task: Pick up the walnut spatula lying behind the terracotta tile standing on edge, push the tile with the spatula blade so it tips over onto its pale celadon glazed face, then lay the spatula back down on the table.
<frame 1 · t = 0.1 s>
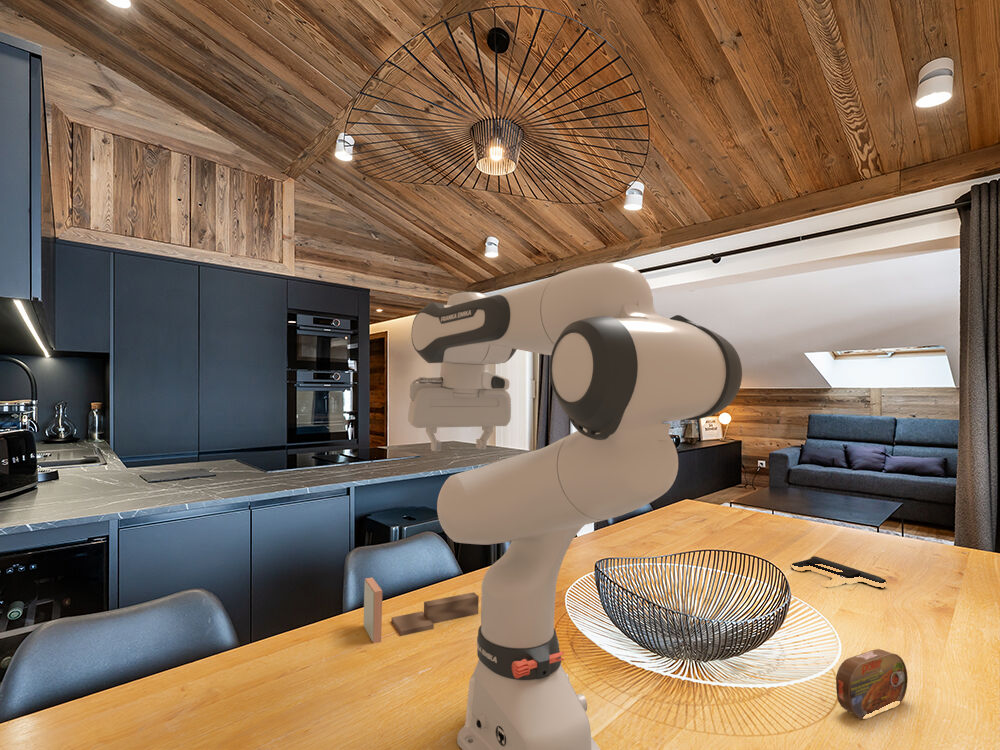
hand: (458, 449, 98), 39 cm above the table, tool pointing down, fingers open, 8 cm apart
tile: (372, 633, 104), on the table
tin: (871, 709, 82), on the table
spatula: (438, 620, 111), on the table
door handle: (832, 581, 140), on the table
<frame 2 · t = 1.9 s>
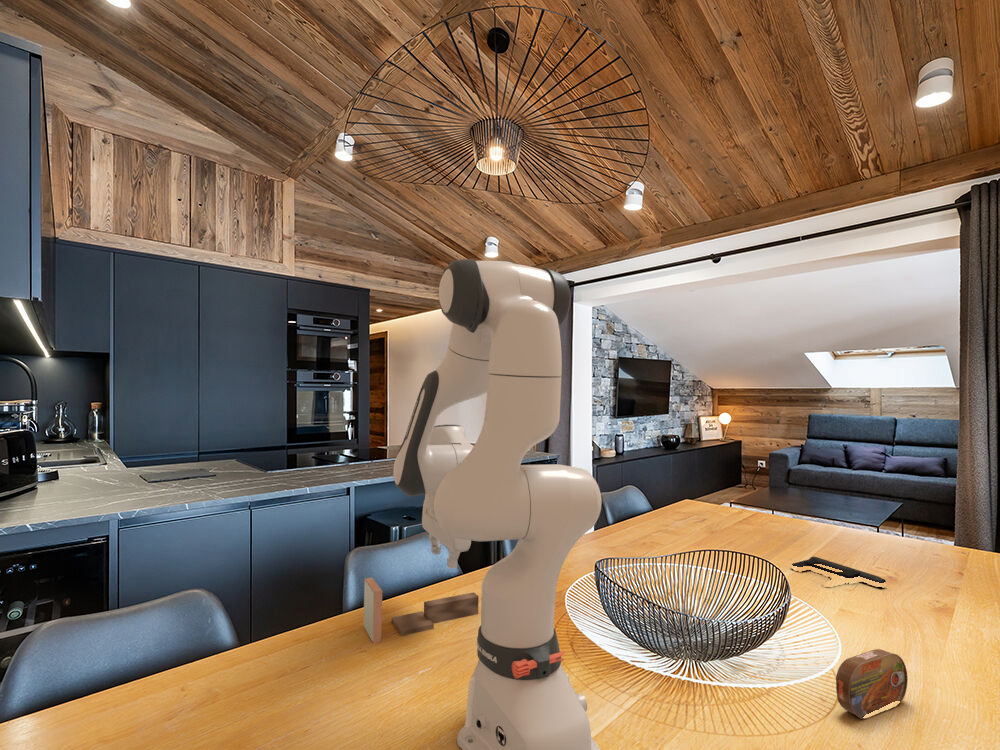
hand: (443, 560, 112), 13 cm above the table, tool pointing down, fingers open, 8 cm apart
nothing on the table moved.
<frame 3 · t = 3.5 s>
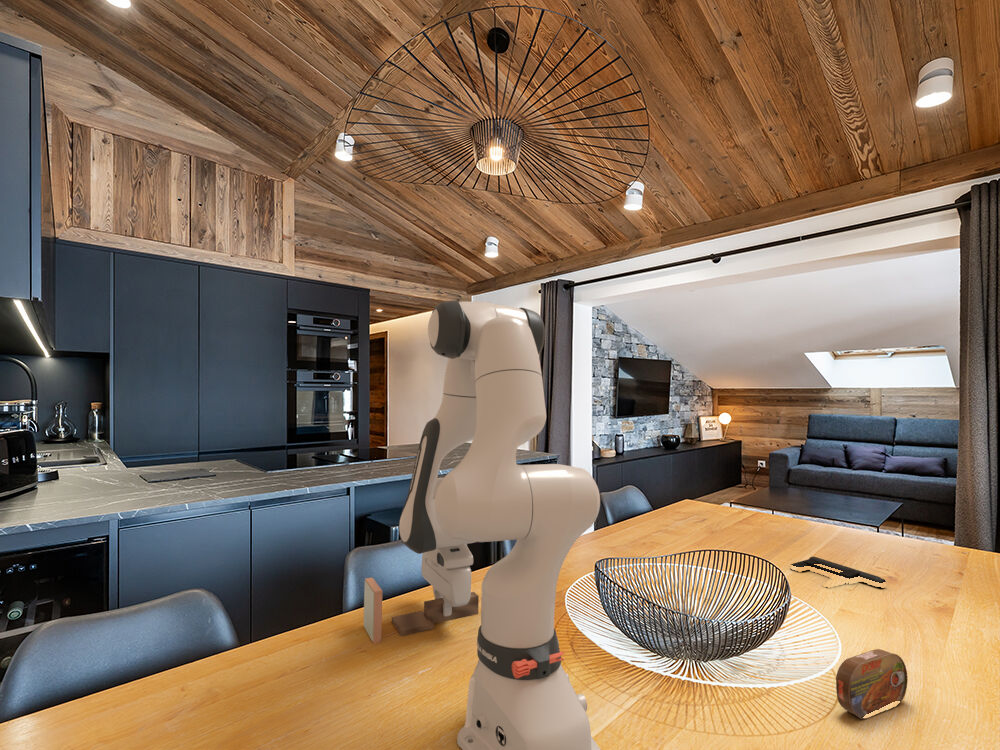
hand: (443, 611, 111), 2 cm above the table, tool pointing down, fingers closed on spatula, 2 cm apart
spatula: (438, 619, 111), on the table, touching gripper
everything else where it was.
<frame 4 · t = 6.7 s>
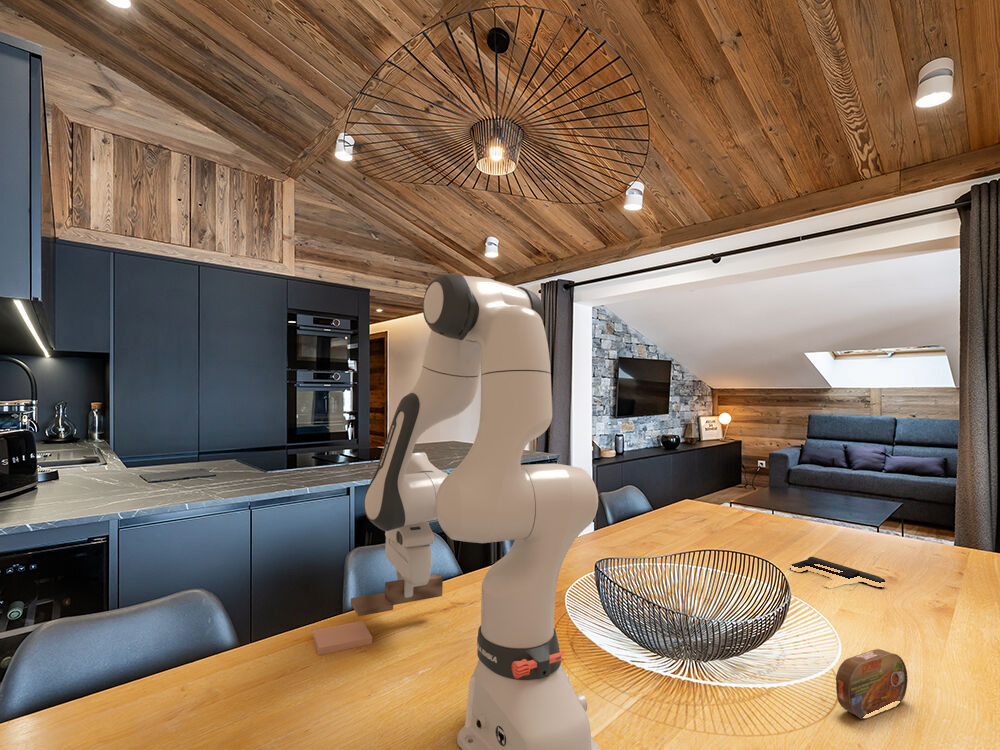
hand: (404, 592, 107), 7 cm above the table, tool pointing down, fingers closed on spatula, 2 cm apart
tile: (367, 632, 104), on the table, tilted 90°
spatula: (400, 601, 107), point 5 cm above the table, touching gripper
everything else where it was.
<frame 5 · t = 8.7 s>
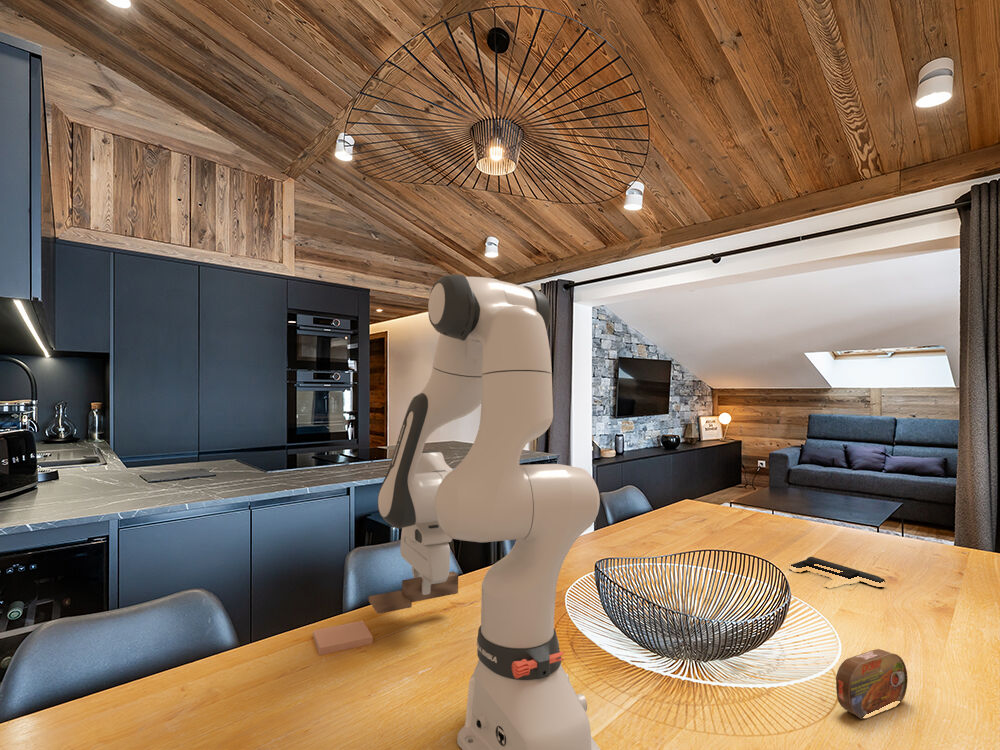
hand: (421, 590, 109), 7 cm above the table, tool pointing down, fingers closed on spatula, 2 cm apart
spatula: (417, 598, 109), point 5 cm above the table, touching gripper
everything else where it was.
when the fingers open (2 cm above the table, at t = 10.4 s): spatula stays where it is, on the table.
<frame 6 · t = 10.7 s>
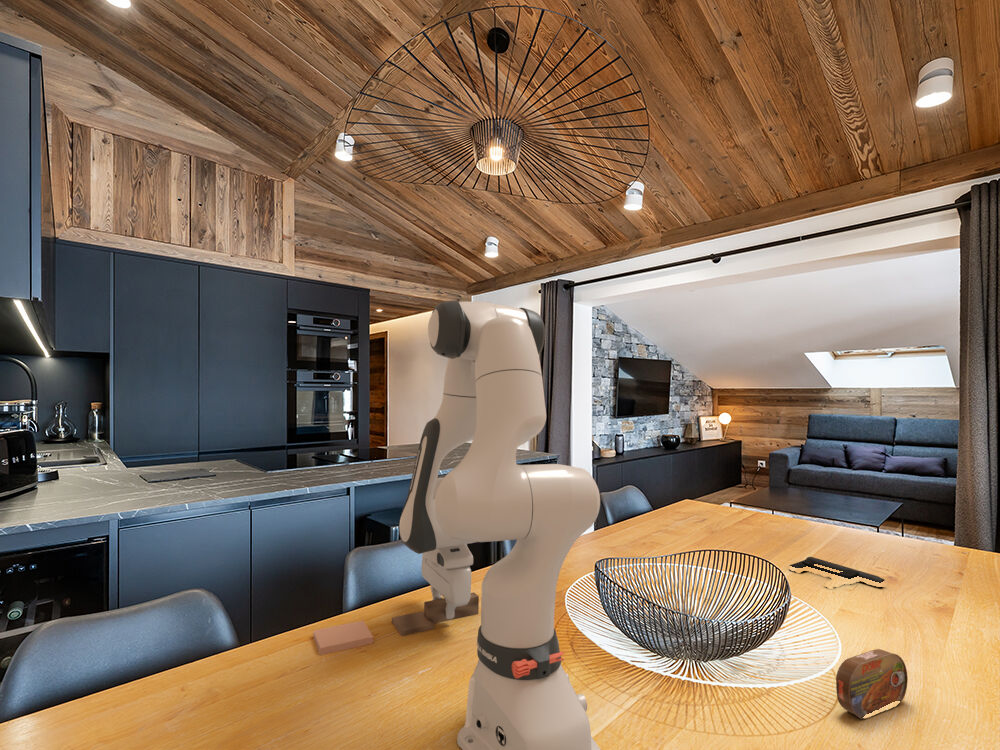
hand: (443, 611, 111), 2 cm above the table, tool pointing down, fingers open, 5 cm apart
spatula: (438, 620, 111), on the table
everything else where it was.
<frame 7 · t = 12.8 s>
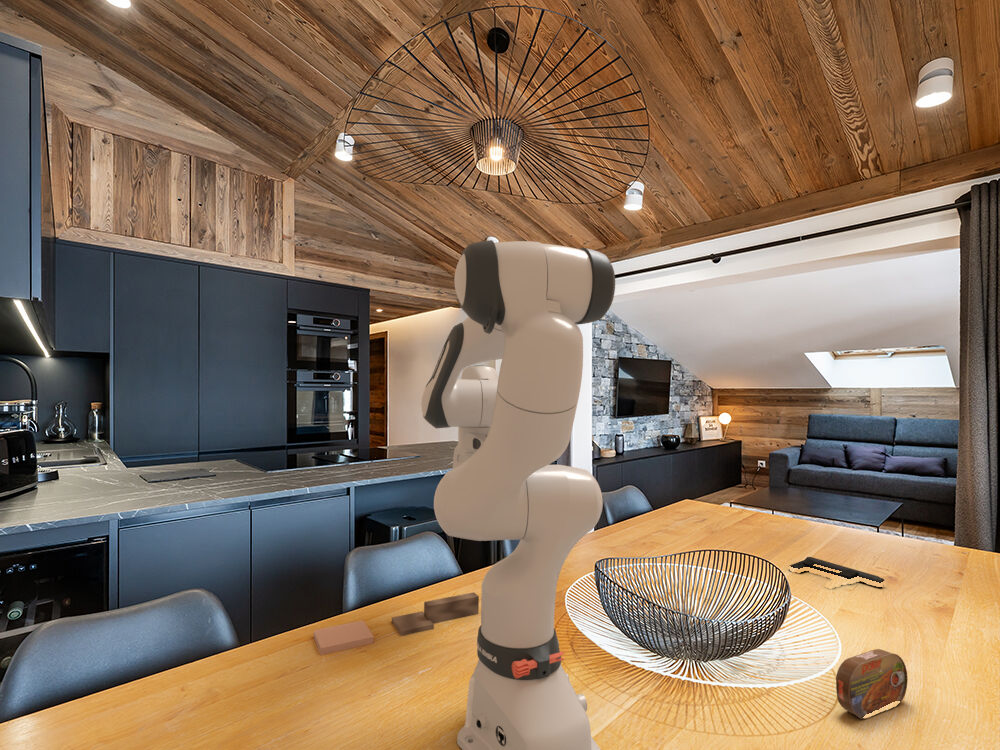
hand: (477, 503, 111), 25 cm above the table, tool pointing down, fingers open, 8 cm apart
nothing on the table moved.
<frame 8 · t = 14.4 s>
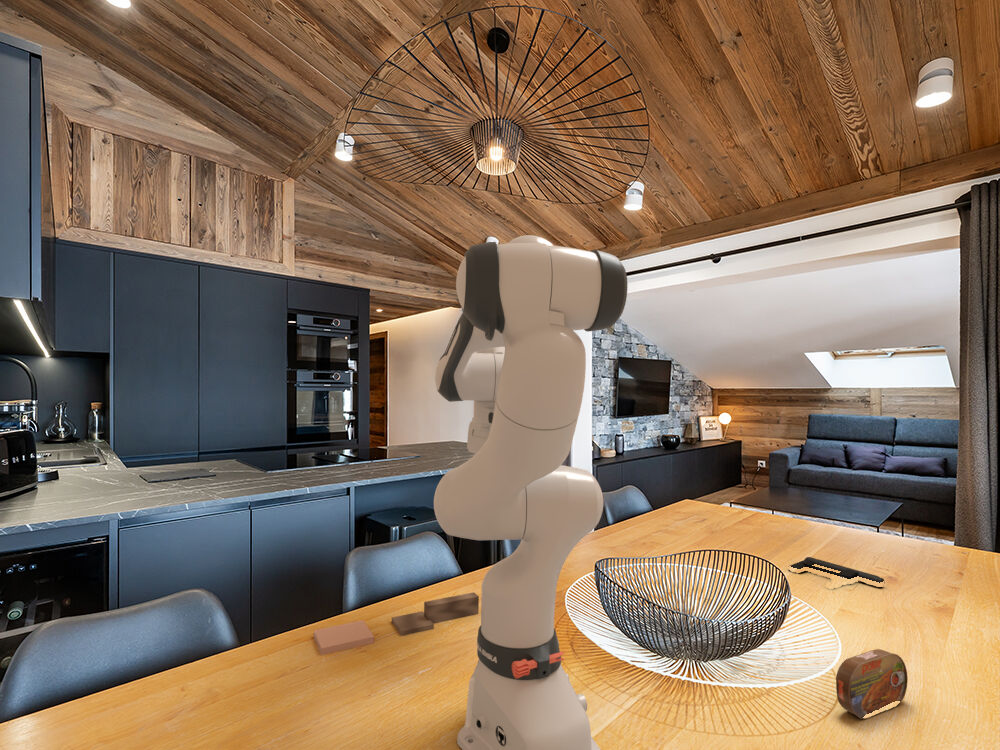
hand: (492, 478, 111), 31 cm above the table, tool pointing down, fingers open, 8 cm apart
at the end: tile tilted 90°; tile inside the target area (1.2 cm from its centre), point 0.5 cm above the table; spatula inside the target area (0.0 cm from its centre), on the table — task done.
